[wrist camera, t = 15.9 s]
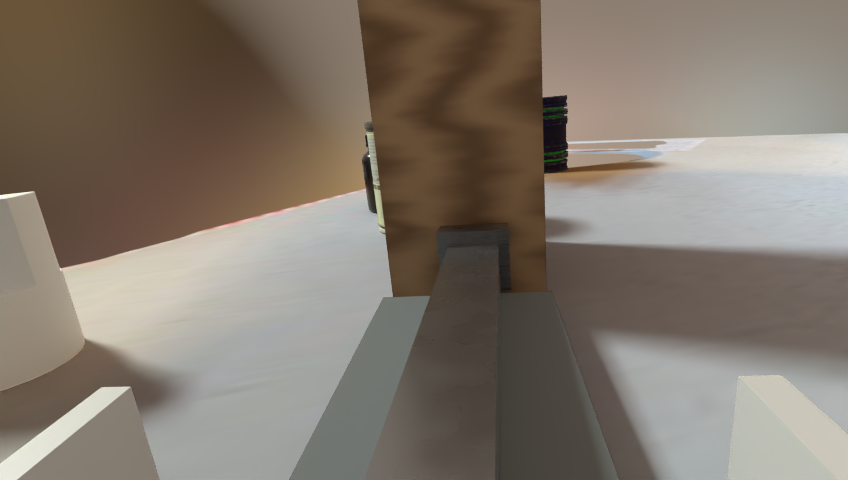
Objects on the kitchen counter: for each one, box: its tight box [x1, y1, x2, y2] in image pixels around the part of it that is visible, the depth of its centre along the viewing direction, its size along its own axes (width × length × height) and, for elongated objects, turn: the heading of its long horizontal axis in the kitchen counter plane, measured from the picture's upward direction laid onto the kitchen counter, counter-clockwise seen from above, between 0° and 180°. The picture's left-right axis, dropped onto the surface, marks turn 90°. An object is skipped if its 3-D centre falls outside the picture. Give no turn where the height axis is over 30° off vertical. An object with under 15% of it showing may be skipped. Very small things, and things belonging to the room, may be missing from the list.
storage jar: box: [543, 95, 568, 173], centre depth 97 cm, size 10×10×15 cm
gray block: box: [289, 291, 619, 480], centre depth 24 cm, size 12×20×2 cm, turn 173°
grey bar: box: [364, 223, 511, 480], centre depth 22 cm, size 5×26×4 cm, turn 171°
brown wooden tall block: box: [358, 0, 547, 297], centre depth 39 cm, size 12×16×33 cm
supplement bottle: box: [362, 135, 377, 213], centre depth 73 cm, size 7×7×12 cm
